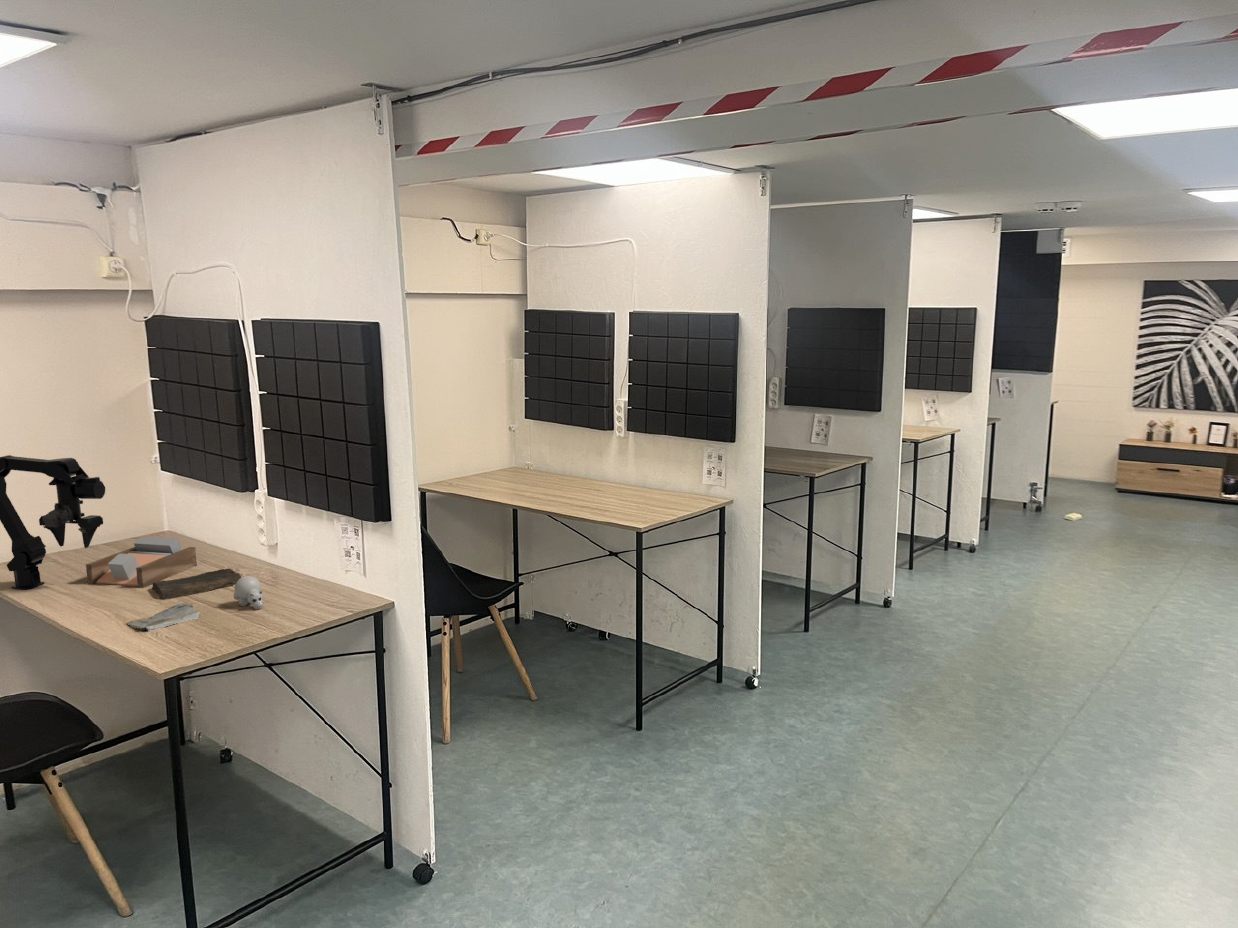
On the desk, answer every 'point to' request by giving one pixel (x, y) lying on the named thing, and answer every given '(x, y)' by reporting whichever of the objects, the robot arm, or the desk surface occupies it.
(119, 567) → the gray cube
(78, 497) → the robot arm
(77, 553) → the desk surface
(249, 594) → the chubby cartoon animal
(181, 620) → the fossil rock
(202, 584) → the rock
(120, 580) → the trapdoor
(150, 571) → the frame
